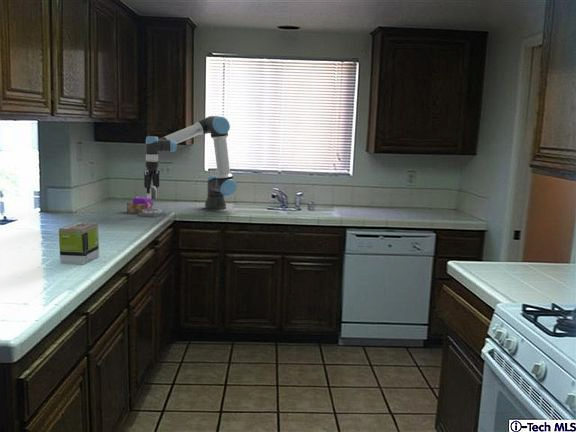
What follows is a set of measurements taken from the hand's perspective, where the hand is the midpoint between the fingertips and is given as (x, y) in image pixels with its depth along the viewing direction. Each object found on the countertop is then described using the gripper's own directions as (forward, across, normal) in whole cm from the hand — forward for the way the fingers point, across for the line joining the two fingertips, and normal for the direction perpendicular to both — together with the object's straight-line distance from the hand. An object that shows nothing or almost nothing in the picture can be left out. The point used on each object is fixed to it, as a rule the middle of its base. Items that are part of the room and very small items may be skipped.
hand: (151, 198), depth 344 cm
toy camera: (+11, -10, -14) cm, 20 cm away
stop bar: (+11, -2, -14) cm, 18 cm away
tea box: (+12, +113, +48) cm, 123 cm away
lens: (+1, 0, 0) cm, 1 cm away
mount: (+11, 0, 0) cm, 11 cm away
